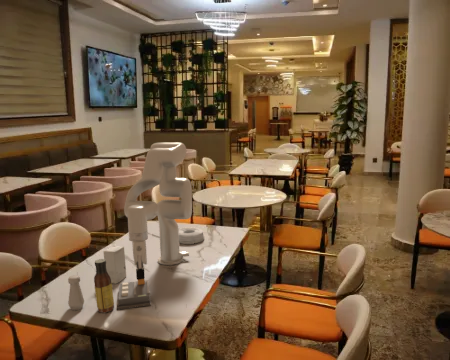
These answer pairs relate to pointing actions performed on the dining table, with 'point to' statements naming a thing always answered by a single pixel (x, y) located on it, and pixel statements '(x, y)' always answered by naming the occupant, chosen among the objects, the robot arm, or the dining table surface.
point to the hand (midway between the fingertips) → (140, 278)
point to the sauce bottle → (103, 287)
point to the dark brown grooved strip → (133, 305)
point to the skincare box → (115, 263)
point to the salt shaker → (75, 293)
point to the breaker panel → (133, 292)
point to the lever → (141, 281)
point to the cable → (190, 235)
